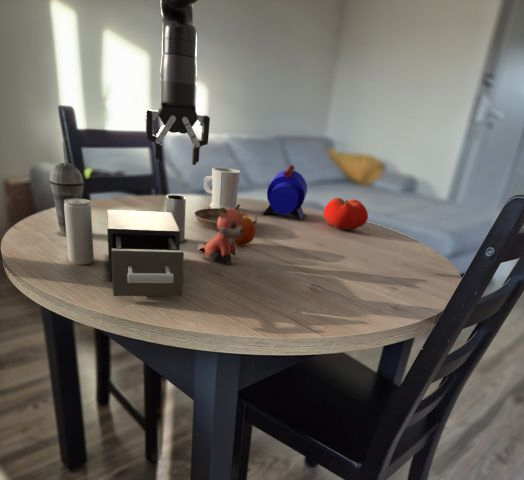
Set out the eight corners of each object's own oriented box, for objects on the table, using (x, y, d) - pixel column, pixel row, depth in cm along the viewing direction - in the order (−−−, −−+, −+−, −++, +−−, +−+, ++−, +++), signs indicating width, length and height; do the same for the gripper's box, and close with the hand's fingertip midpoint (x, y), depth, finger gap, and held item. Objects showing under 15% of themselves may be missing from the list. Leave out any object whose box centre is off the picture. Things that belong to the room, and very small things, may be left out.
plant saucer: (183, 226, 130) (184, 215, 128) (207, 214, 145) (208, 204, 144) (245, 238, 126) (246, 226, 125) (263, 224, 142) (264, 214, 140)
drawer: (186, 309, 80) (188, 263, 76) (113, 310, 76) (111, 262, 73) (173, 269, 96) (174, 230, 92) (112, 269, 93) (111, 228, 89)
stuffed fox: (204, 248, 114) (207, 196, 108) (246, 259, 110) (251, 206, 105) (187, 255, 108) (189, 201, 102) (231, 267, 104) (235, 211, 99)
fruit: (243, 250, 116) (246, 217, 113) (220, 243, 119) (222, 210, 116) (259, 245, 122) (262, 213, 118) (237, 238, 125) (239, 207, 121)
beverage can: (66, 264, 95) (61, 202, 89) (71, 257, 99) (66, 197, 93) (92, 266, 95) (88, 204, 90) (95, 258, 100) (92, 199, 94)
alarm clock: (304, 214, 161) (311, 167, 154) (299, 221, 150) (307, 171, 143) (268, 208, 163) (274, 161, 156) (261, 215, 152) (267, 165, 145)
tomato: (313, 227, 145) (318, 197, 141) (327, 221, 156) (332, 193, 152) (356, 237, 140) (363, 206, 136) (368, 230, 151) (374, 201, 147)
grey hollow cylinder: (164, 237, 119) (164, 194, 114) (182, 237, 120) (183, 195, 116) (167, 242, 115) (168, 198, 110) (186, 242, 117) (187, 199, 112)
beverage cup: (86, 229, 118) (80, 141, 108) (88, 237, 112) (82, 145, 102) (54, 229, 115) (45, 138, 106) (54, 237, 109) (44, 142, 100)
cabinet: (178, 281, 93) (180, 231, 89) (109, 281, 89) (107, 228, 85) (170, 257, 106) (171, 212, 101) (109, 256, 102) (107, 209, 97)
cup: (209, 212, 149) (211, 171, 143) (201, 205, 156) (203, 166, 150) (241, 212, 152) (244, 173, 147) (232, 206, 160) (235, 168, 154)
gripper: (209, 84, 107) (205, 163, 115) (142, 76, 103) (143, 158, 110) (215, 85, 101) (210, 168, 108) (145, 76, 96) (145, 163, 104)
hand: (176, 163), depth 109 cm, fingers open, 7 cm apart
